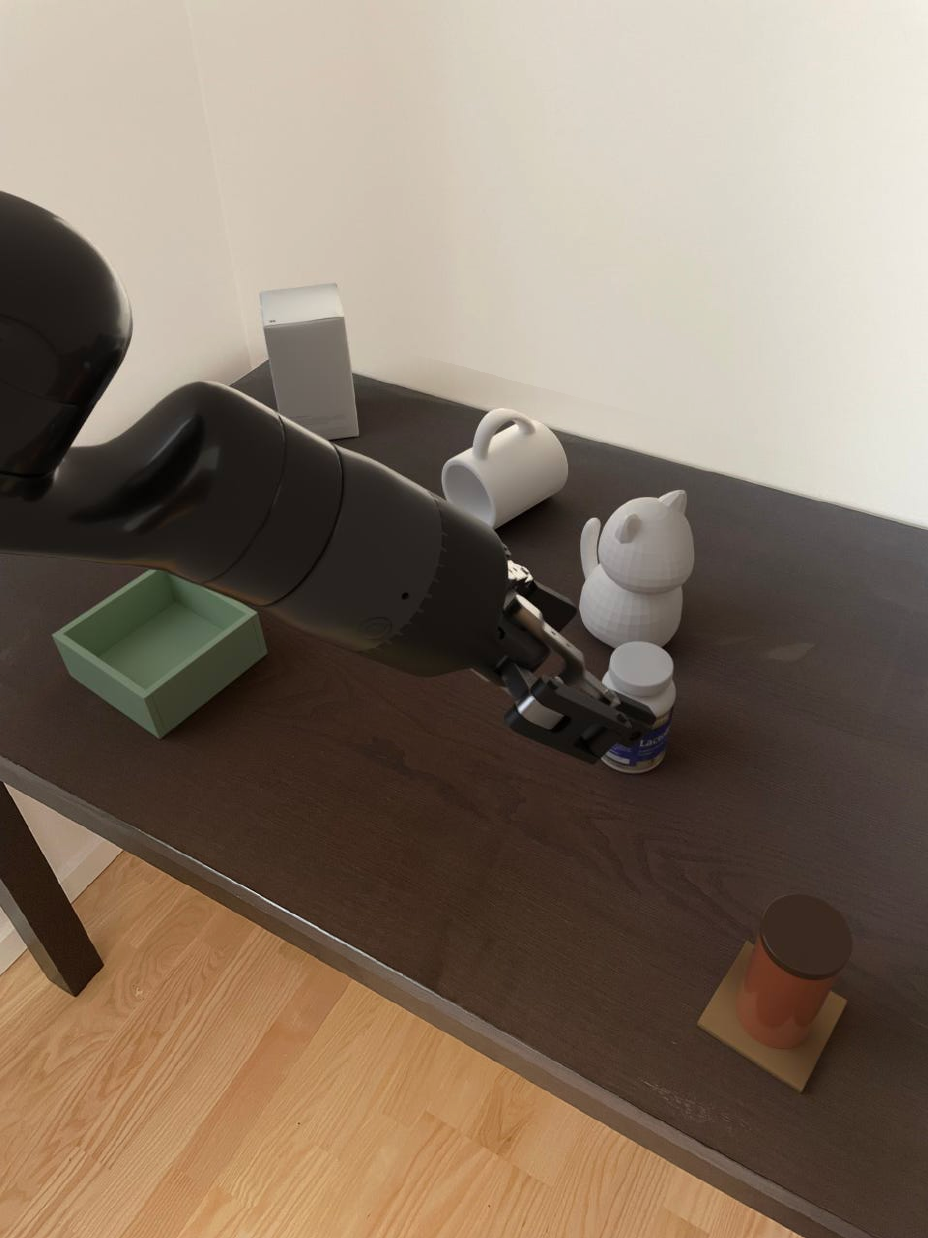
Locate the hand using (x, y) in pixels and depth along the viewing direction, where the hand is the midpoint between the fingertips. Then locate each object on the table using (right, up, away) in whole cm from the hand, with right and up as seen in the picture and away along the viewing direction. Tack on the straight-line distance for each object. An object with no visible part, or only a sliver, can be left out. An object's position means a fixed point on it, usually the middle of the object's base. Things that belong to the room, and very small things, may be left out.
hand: (600, 670), depth 51 cm
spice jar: (+13, -22, +11) cm, 28 cm away
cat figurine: (+7, +2, +38) cm, 39 cm away
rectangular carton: (-24, +26, +65) cm, 74 cm away
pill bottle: (+6, -8, +28) cm, 29 cm away
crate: (-34, -1, +36) cm, 49 cm away
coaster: (+13, -23, +11) cm, 28 cm away
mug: (-3, +14, +51) cm, 53 cm away
